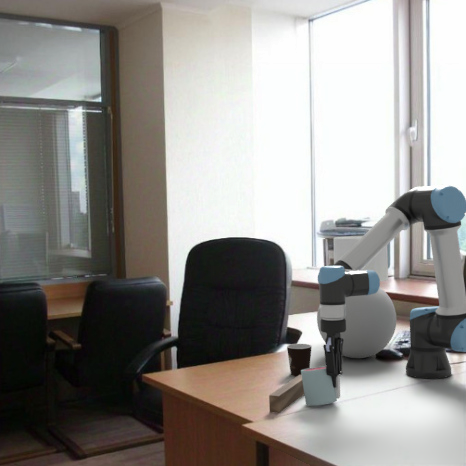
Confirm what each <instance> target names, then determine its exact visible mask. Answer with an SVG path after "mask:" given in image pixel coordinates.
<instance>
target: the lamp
mask: <svg viewBox="0 0 466 466" xmlns="http://www.w3.org/2000/svg"><path fill="white" fill-rule="evenodd" d="M363 236H364V235H352V236H351V235H349V236H337V237H333V265H334V264H335V263H336V262H337V261H338V260H339V259H340V258H341V257H342V256H343V255H344V254H345V253H346V252H347V251H349V250H350V249H351V248H352V247H353V246H354V245H355V244H356V243H357V242H358V241H359V240H360V239H361V238H362V237H363ZM388 263H389V259H388V245H387V246H386V247H385V248H384V249H383V250H382V251H381V252H380V253H379V254H378V255H376V256H375V257H374V258H373V259H372V260H371V261H370V262H369V263H368V264H367V265H366V266H365V267H364V268H363V269H362V270H373V271H375V272H376V273H377V274H378V276H379V279H380V283H381V282H385V281H388V279H389V266H388V265H389V264H388ZM362 270H361V271H362Z"/></svg>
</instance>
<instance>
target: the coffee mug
mask: <svg viewBox="0 0 466 466" xmlns="http://www.w3.org/2000/svg"><path fill="white" fill-rule="evenodd" d="M286 349H287V357H288V364H289V371H290V375H291V376H292V377H297V376H298V375H301V370H303V369H308V368H311V357H312V345H311V344H307V343H292V344H288V345H286Z"/></svg>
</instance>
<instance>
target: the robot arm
mask: <svg viewBox="0 0 466 466" xmlns="http://www.w3.org/2000/svg"><path fill="white" fill-rule="evenodd" d="M465 217H466V197H465V195H464V193H463V192H462V191H461V190H459V189H458V187H456V186H452V185H444V184H441V185H429V186H427V185H426V186H416V187H413V188H412V189H411V188H410V190H407V191H406V192H404V193H403V194H402V195H400V196H399V197H397V198H396V199H395V200H394V201H393V202H391V204H390V205H389V206H388V207H387V208H386V209H385V214H384V215H383V216H382V217H381V218H380V219H379V220H378V221H377V222H376V223H375V224H374V225H373V226H372V227H371V228H370V229H369V230H368V231H367V232H366V233H365V234H363V235H362V236H363V237H362V238H361V239H360V240H359V241H358V242H357V243H356V244H355V245H354V246H353V247H352V248H351V249H350V250H349V251H347V252H346V253H345V254H344V255H343V256H342V257H341V258H340V259H339V260H338V261H337V262H336V263H335V264H334V263H333V265H326V266H325V265H324V266H321V267H320V268H319V272H318V274H317V282H318V286H319V287H318V289H319V290H318V291H319V305H320V307H319V306H318V308H319V310H320V317H322V319H321V320H320V328H321V331H322V332H325V333H327V337H326V339H325V341H324V343H325V344H323V346H322V347H323V351H324V359H325V366H326V371H327V375H329V376H331V378H332V382H333V387H334V388H335V393H336V398H337V400H339V399H340V398H341V376H342V375H343V372H342V371H343V355H342V351H343V341H344V340H343V338H341V335H340V333H342V332H345V331H346V320H345V319H344V317H346V304H345V298H346V297H349V296H362V295H366V296H368V295H371V294H375V293H376V292H377V291H378V290H379V287H380V288H381V286H380V285H381V282H380V279H379V276H378V274H377V273H376V272H375V271H373V270H362V269H363V268H364V267H365V266H366V265H367V264H368V263H369V262H370V261H371V260H372V259H373V258H374V257H375V256H376V255H378V254H379V253H380V252H381V251H382V250H383V249H384V248H385V247H386V246H387V247H388V245H389V243H391V242H392V241H393V240H394V239H395V238H396V237H397V236H398V235H399V234H400V233H401V232H402V231H407V230H408V229H409V228H410V227H411V226H413V225H415V224H417V223H422V224H423V225H422V226H423V230H424V231H425V232H426V233H427V234H429V238H430V246H431V253H432V260H433V261H432V262H433V267H434V268H433V269H434V274H435V275H434V276H435V283H436V289H437V296H438V297H437V298H438V303H439V305H438V306H437V305H436V306H435V305H434V306H424V307H416V308H412V309H411V310H410V312H409V335H410V337H409V339H410V352H409V355H408V358H407V362H406V366H405V374H406V375H407V376H410V377H414V378H417V379H430V380H431V379H443V378H448V377H450V376H451V375H452V366H451V362H450V361H449V357H448V354H447V351H446V349H448V350H451V351H455V352H462V353H466V287H465V286H466V285H465V279H464V272H463V271H464V270H463V265H462V256H461V248H460V242H459V235H458V230H459V229H460V228H461V227H462V220H463V219H464V218H465ZM361 270H362V271H361Z"/></svg>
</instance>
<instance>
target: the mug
mask: <svg viewBox="0 0 466 466" xmlns="http://www.w3.org/2000/svg"><path fill="white" fill-rule="evenodd" d="M301 375H302V382H303V388H304V395H303V396H304V401H305V405H306V406H323V405H327V404H328V405H329V404H332V403H335V402H337V401H338V398H336V393H335V388H334V387H333V382H332V378H331V376H329V375H327V371H326V365H324V366H323V365H322V366H315V367H310V368H308V369H303V370H301Z"/></svg>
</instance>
